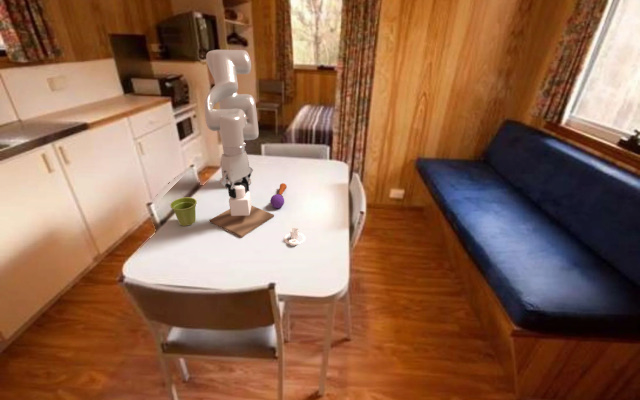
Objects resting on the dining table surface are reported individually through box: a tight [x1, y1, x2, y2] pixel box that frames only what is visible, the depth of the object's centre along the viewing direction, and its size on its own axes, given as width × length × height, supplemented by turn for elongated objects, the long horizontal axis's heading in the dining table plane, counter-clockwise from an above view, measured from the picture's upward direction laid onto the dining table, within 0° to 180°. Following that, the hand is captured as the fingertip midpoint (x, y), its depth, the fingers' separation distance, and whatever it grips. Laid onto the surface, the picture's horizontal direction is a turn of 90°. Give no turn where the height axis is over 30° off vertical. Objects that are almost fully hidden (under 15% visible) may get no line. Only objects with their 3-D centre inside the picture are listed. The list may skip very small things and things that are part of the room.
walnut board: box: [209, 204, 275, 238], centre depth 125 cm, size 18×18×1 cm
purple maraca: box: [269, 182, 287, 209], centre depth 139 cm, size 6×6×20 cm
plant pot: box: [169, 196, 198, 227], centre depth 120 cm, size 9×9×9 cm
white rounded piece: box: [283, 227, 306, 247], centre depth 113 cm, size 9×8×4 cm
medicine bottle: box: [228, 182, 252, 216], centre depth 120 cm, size 7×7×12 cm
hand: (239, 193), depth 119 cm, fingers closed on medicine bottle, 6 cm apart
